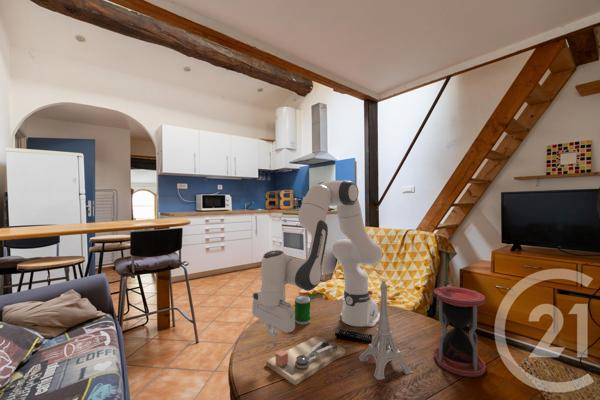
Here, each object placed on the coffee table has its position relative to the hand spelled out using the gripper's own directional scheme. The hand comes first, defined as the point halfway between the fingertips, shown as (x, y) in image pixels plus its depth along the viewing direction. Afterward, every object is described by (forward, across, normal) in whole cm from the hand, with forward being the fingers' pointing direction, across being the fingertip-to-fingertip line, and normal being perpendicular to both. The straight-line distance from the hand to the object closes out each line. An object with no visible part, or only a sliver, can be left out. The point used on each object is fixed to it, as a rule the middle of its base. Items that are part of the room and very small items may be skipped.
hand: (272, 336), depth 99 cm
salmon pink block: (+8, -4, -1) cm, 9 cm away
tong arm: (+8, -8, -12) cm, 17 cm away
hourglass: (+9, -46, -48) cm, 67 cm away
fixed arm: (+8, -11, -12) cm, 18 cm away
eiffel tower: (+10, -28, -28) cm, 41 cm away
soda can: (+10, +17, -32) cm, 38 cm away
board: (+10, -6, -11) cm, 16 cm away
